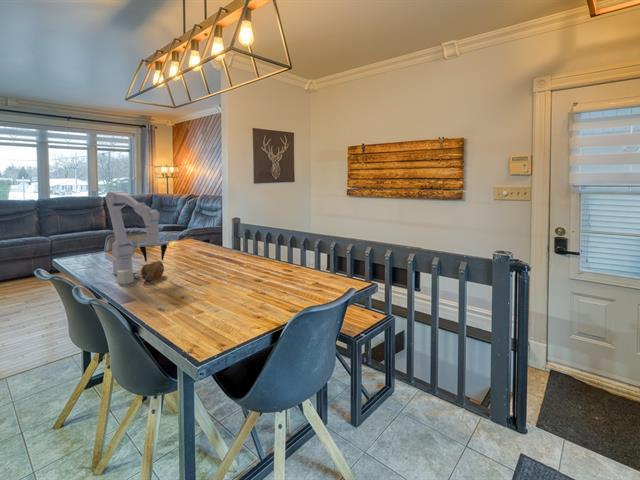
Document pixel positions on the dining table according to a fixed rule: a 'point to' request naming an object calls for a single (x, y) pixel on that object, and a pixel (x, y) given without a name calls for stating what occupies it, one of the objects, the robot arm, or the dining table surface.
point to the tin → (152, 270)
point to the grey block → (125, 276)
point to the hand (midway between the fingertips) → (154, 260)
